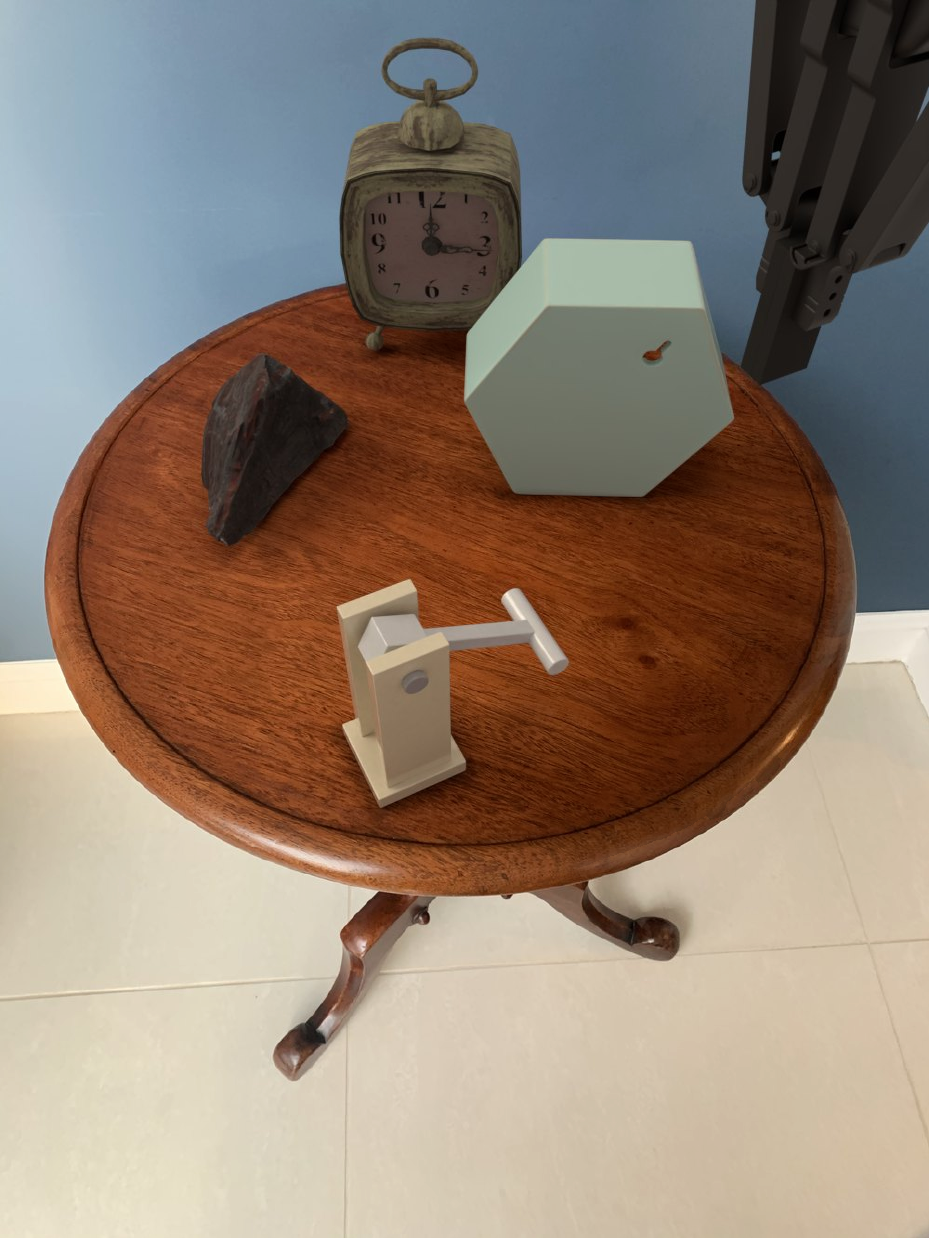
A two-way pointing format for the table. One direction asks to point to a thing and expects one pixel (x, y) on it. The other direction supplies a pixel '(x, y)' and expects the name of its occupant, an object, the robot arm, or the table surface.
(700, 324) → the planter
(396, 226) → the tabletop clock
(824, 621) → the table surface
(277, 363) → the rock
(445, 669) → the faucet bracket
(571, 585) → the table surface
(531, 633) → the faucet handle
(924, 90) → the robot arm
